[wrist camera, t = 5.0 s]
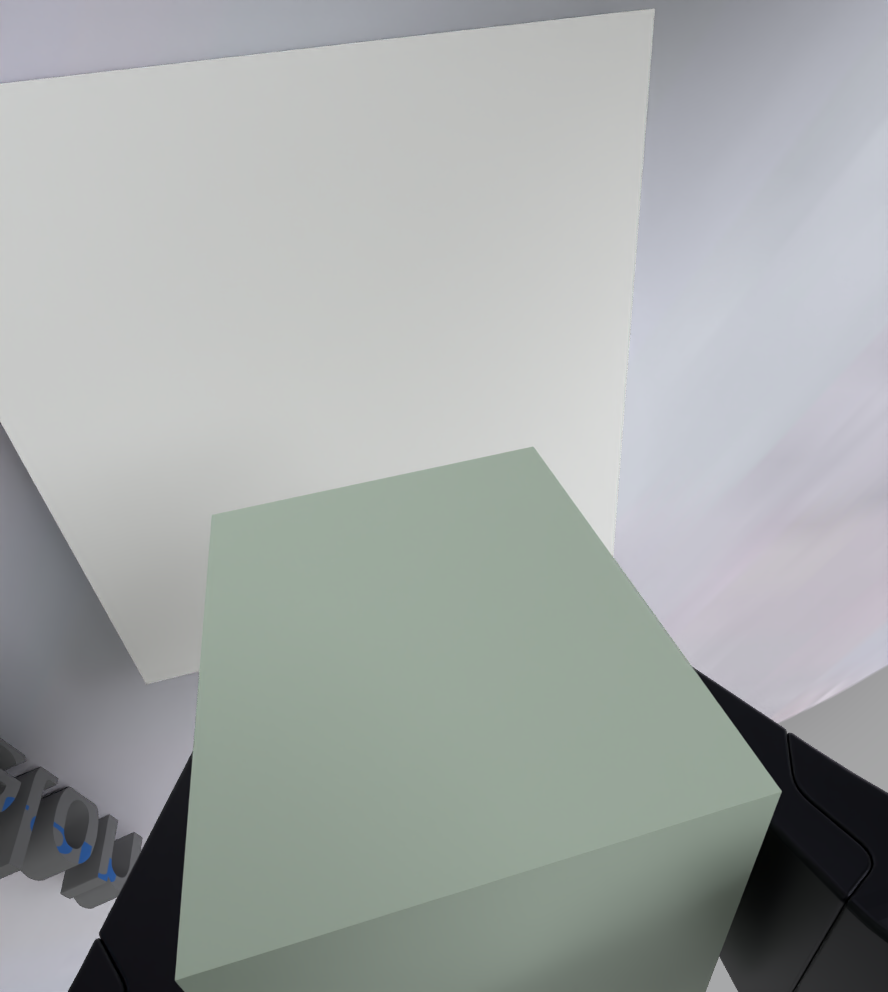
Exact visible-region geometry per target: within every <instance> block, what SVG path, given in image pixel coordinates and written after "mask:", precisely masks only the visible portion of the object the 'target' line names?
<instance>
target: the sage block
mask: <svg viewBox="0 0 888 992" xmlns="http://www.w3.org/2000/svg"><path fill="white" fill-rule="evenodd" d="M781 792H782V791H781V790H780V788H779V787H778V785H777V784H776V783H775V781H774V780H773V779H772V777H771V776H770V774H769V773H768V772H767V770H766V769H765V767H764V766H763V765H762V763H761V762H760V760H759V759H758V758H757V756H756V755H755V754H754V752H753V751H752V749H751V748H750V747H749V745H748V744H747V742H746V741H745V740H744V738H743V737H742V735H741V734H740V733H739V731H738V730H737V729H736V727H735V726H734V724H733V723H732V722H731V720H730V719H729V717H728V716H727V715H726V713H725V712H724V710H723V709H722V708H721V706H720V705H719V704H718V702H717V701H716V699H715V698H714V697H713V695H712V694H711V692H710V691H709V690H708V688H707V687H706V685H705V684H704V683H703V681H702V680H701V679H700V677H699V676H698V674H697V673H696V672H695V670H694V669H693V667H692V666H691V665H690V663H689V662H688V660H687V659H686V658H685V656H684V655H683V654H682V652H681V651H680V649H679V648H678V647H677V645H676V644H675V642H674V641H673V640H672V638H671V637H670V635H669V634H668V633H667V631H666V630H665V629H664V627H663V626H662V624H661V623H660V622H659V620H658V619H657V617H656V616H655V615H654V613H653V612H652V610H651V609H650V608H649V606H648V605H647V604H646V602H645V601H644V599H643V598H642V597H641V595H640V594H639V592H638V591H637V590H636V588H635V587H634V585H633V584H632V583H631V581H630V580H629V579H628V577H627V576H626V574H625V573H624V572H623V570H622V569H621V567H620V566H619V565H618V563H617V562H616V560H615V559H614V558H613V556H612V555H611V554H610V552H609V551H608V549H607V548H606V547H605V545H604V544H603V542H602V541H601V540H600V538H599V537H598V535H597V534H596V533H595V531H594V530H593V529H592V527H591V526H590V524H589V523H588V522H587V520H586V519H585V517H584V516H583V515H582V513H581V512H580V510H579V509H578V508H577V506H576V505H575V504H574V502H573V501H572V499H571V498H570V497H569V495H568V494H567V492H566V491H565V490H564V488H563V487H562V485H561V484H560V483H559V481H558V480H557V479H556V477H555V476H554V474H553V473H552V472H551V470H550V469H549V467H548V466H547V465H546V463H545V462H544V460H543V459H542V458H541V456H540V455H539V454H538V452H537V451H536V449H535V448H534V447H528V448H524V449H519V450H514V451H510V452H505V453H500V454H495V455H491V456H486V457H481V458H477V459H472V460H467V461H463V462H458V463H453V464H449V465H444V466H439V467H434V468H430V469H425V470H420V471H416V472H411V473H406V474H402V475H397V476H392V477H387V478H383V479H378V480H373V481H369V482H364V483H359V484H355V485H350V486H345V487H340V488H336V489H331V490H326V491H322V492H317V493H312V494H308V495H303V496H298V497H294V498H289V499H284V500H279V501H275V502H270V503H265V504H261V505H256V506H251V507H247V508H242V509H237V510H232V511H228V512H223V513H218V514H214V515H212V518H211V530H210V543H209V556H208V568H207V581H206V593H205V606H204V619H203V631H202V644H201V657H200V669H199V682H198V695H197V707H196V720H195V732H194V745H193V758H192V770H191V783H190V796H189V808H188V821H187V834H186V846H185V859H184V871H183V884H182V897H181V909H180V922H179V935H178V947H177V960H176V973H175V981H176V983H177V984H178V985H179V986H180V987H181V988H182V989H183V991H184V992H706V989H707V987H708V984H709V981H710V979H711V976H712V973H713V971H714V968H715V966H716V963H717V960H718V958H719V955H720V953H721V950H722V947H723V945H724V942H725V939H726V937H727V934H728V932H729V929H730V926H731V924H732V921H733V918H734V916H735V913H736V910H737V908H738V905H739V903H740V900H741V897H742V895H743V892H744V889H745V887H746V884H747V882H748V879H749V876H750V874H751V871H752V868H753V866H754V863H755V861H756V858H757V855H758V853H759V850H760V847H761V845H762V842H763V840H764V837H765V834H766V832H767V829H768V826H769V824H770V821H771V819H772V816H773V813H774V811H775V808H776V805H777V803H778V800H779V798H780V795H781Z"/></svg>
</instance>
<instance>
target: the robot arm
mask: <svg viewBox="0 0 888 992" xmlns="http://www.w3.org/2000/svg"><path fill="white" fill-rule="evenodd" d="M693 669H694V670H695V672H696V673H697V674H698V676H699V677H700V679H701V680H702V681H703V683H704V684H705V685H706V687H707V688H708V690H709V691H710V692H711V694H712V695H713V697H714V698H715V699H716V701H717V702H718V704H719V705H720V706H721V708H722V709H723V710H724V712H725V713H726V715H727V716H728V717H729V719H730V720H731V722H732V723H733V724H734V726H735V727H736V729H737V730H738V731H739V733H740V734H741V735H742V737H743V738H744V740H745V741H746V742H747V744H748V745H749V747H750V748H751V749H752V751H753V752H754V754H755V755H756V756H757V758H758V759H759V760H760V762H761V763H762V765H763V766H764V767H765V769H766V770H767V772H768V773H769V774H770V776H771V777H772V779H773V780H774V781H775V783H776V784H777V785H778V787H779V788H780V790H781V791H782V792H781V795H780V798H779V800H778V803H777V805H776V808H775V811H774V813H773V816H772V819H771V821H770V824H769V826H768V829H767V832H766V834H765V837H764V840H763V842H762V845H761V847H760V850H759V853H758V855H757V858H756V861H755V863H754V866H753V868H752V871H751V874H750V876H749V879H748V882H747V884H746V887H745V889H744V892H743V895H742V897H741V900H740V903H739V905H738V908H737V910H736V913H735V916H734V918H733V921H732V924H731V926H730V929H729V932H728V934H727V937H726V939H725V942H724V945H723V947H722V950H721V953H720V955H719V957H720V958H721V960H722V962H723V964H724V966H725V968H726V970H727V972H728V973H729V975H730V977H731V979H732V981H733V983H734V985H735V987H736V988H737V990H738V992H888V793H887V792H885V791H883V790H882V789H880V788H879V787H877V786H875V785H873V784H871V783H870V782H868V781H866V780H865V779H863V778H861V777H860V776H858V775H856V774H855V773H853V772H851V771H850V770H848V769H846V768H845V767H843V766H842V765H840V764H838V763H837V762H835V761H834V760H832V759H830V758H829V757H827V756H826V755H824V754H823V753H821V752H820V751H818V750H817V749H815V748H814V747H812V746H811V745H809V744H808V743H806V742H804V741H803V740H802V739H800V738H799V737H797V736H796V735H794V734H793V733H788V734H787V731H786V729H785V728H783V727H782V726H780V725H779V724H777V723H776V722H774V721H773V720H771V719H770V718H768V717H767V716H765V715H764V714H762V713H761V712H759V711H758V710H756V709H755V708H753V707H752V706H750V705H749V704H747V703H746V702H744V701H743V700H741V699H740V698H738V697H737V696H735V695H734V694H732V693H731V692H729V691H728V690H726V689H725V688H723V687H722V686H720V685H719V684H717V683H716V682H714V681H713V680H711V679H710V678H708V677H707V676H705V675H704V674H702V673H701V672H699V671H698V670H696V669H695V668H693ZM192 758H193V752H192V754H191V756H190V757H189V759H188V761H187V763H186V765H185V767H184V769H183V771H182V773H181V775H180V777H179V779H178V781H177V783H176V785H175V787H174V789H173V790H172V792H171V794H170V796H169V798H168V800H167V802H166V804H165V806H164V808H163V810H162V812H161V814H160V816H159V818H158V820H157V821H156V823H155V825H154V827H153V829H152V831H151V833H150V835H149V837H148V839H147V841H146V843H145V845H144V847H143V849H142V851H141V852H140V854H139V856H138V858H137V860H136V862H135V864H134V866H133V868H132V870H131V872H130V874H129V876H128V878H127V880H126V882H125V883H124V885H123V887H122V889H121V891H120V893H119V895H118V897H117V899H116V901H115V903H114V905H113V907H112V909H111V911H110V913H109V914H108V916H107V918H106V920H105V922H104V924H103V926H102V928H101V930H100V932H99V936H100V938H101V939H100V938H98V939H96V940H95V941H94V943H93V945H92V947H91V949H90V951H89V953H88V955H87V957H86V958H85V960H84V962H83V964H82V966H81V968H80V970H79V972H78V974H77V976H76V978H75V979H74V981H73V983H72V985H71V987H70V989H69V990H68V992H184V991H183V989H182V988H181V987H180V986H179V985H178V984H177V983H176V981H175V973H176V960H177V947H178V935H179V922H180V909H181V897H182V884H183V871H184V859H185V846H186V834H187V821H188V808H189V796H190V783H191V770H192Z"/></svg>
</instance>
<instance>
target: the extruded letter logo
mask: <svg viewBox="0 0 888 992" xmlns="http://www.w3.org/2000/svg"><path fill="white" fill-rule="evenodd" d="M25 761H26V759H25V756H24V754H22V753H21V752H19V751H18V750H17V749H15V748H14V747H12V746H11V745H9V744H8V743H6V742H5V741H4V740H2V739H1V738H0V879H1V878H4V877H6V876H8V875H10V874H13V873H15V872H17V871H20V870H21V871H22V872H23V873H24V874H25V875H26V876H27V877H29V878H31V879H33V880H38V881H41V880H45V879H47V878H49V877H52V876H54V875H56V874H58V873H61V872H63V871H65V870H66V871H65V875H64V880H63V884H62V889H61V895H63V896H65V897H67V898H69V899H70V898H73V897H74V899H75V900H76V902H77V903H78V904H79V905H80V906H82V907H84V908H88V909H91V908H94V907H96V906H98V905H101V904H103V903H105V902H107V901H110V900H112V899H114V898H116V897H118V895H119V893H120V891H121V889H122V887H123V885H124V883H125V882H126V880H127V878H128V876H129V874H130V872H131V870H132V868H133V866H134V864H135V862H136V860H137V858H138V856H139V854H140V852H141V845H142V837H141V836H140V835H138V834H137V833H135V832H133V833H131V834H129V835H127V836H124V837H122V838H120V839H118V840H115V834H116V829H117V823H118V820H117V819H115V818H114V817H112V816H111V815H110V814H109V815H107V816H104V817H102V818H100V819H99V818H98V811H97V807H96V805H95V804H94V803H92V802H91V801H89V800H88V799H87V798H85V797H84V796H82V795H81V794H79V793H78V792H77V791H75V790H74V789H72V788H71V787H68V788H66V789H64V790H61V791H59V792H57V793H55V794H52V795H50V796H48V797H46V798H43V799H41V797H42V793H43V790H45V789H47V788H50V787H52V786H54V785H56V784H57V782H58V778H57V777H55V776H54V775H52V774H51V773H49V772H48V771H47V770H45V769H44V768H42V767H40V768H37V769H35V770H33V771H31V772H28V773H26V774H24V775H22V776H19V777H17V778H14V777H13V776H11V775H10V774H8V773H6V772H5V771H4V770H7V769H9V768H11V767H13V766H16V765H18V764H20V763H22V762H25ZM114 840H115V841H114Z"/></svg>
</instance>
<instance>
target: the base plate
mask: <svg viewBox="0 0 888 992" xmlns="http://www.w3.org/2000/svg"><path fill="white" fill-rule="evenodd" d="M654 14H655V9H645V10H635V11H626V12H616V13H607V14H599V15H590V16H581V17H573V18H564V19H555V20H547V21H538V22H529V23H521V24H512V25H503V26H495V27H486V28H477V29H469V30H460V31H451V32H443V33H434V34H425V35H417V36H408V37H399V38H391V39H382V40H373V41H365V42H356V43H347V44H339V45H330V46H321V47H313V48H304V49H295V50H287V51H278V52H269V53H261V54H252V55H243V56H235V57H226V58H217V59H209V60H200V61H191V62H183V63H174V64H165V65H157V66H148V67H139V68H131V69H122V70H113V71H105V72H96V73H87V74H79V75H70V76H62V77H53V78H44V79H36V80H27V81H18V82H10V83H1V84H0V422H1V424H2V426H3V428H4V429H5V431H6V433H7V435H8V437H9V438H10V440H11V442H12V444H13V446H14V447H15V449H16V451H17V453H18V455H19V456H20V458H21V460H22V462H23V464H24V465H25V467H26V469H27V471H28V473H29V474H30V476H31V478H32V480H33V482H34V483H35V485H36V487H37V489H38V491H39V492H40V494H41V496H42V498H43V500H44V501H45V503H46V505H47V507H48V509H49V510H50V512H51V514H52V516H53V518H54V519H55V521H56V523H57V525H58V527H59V528H60V530H61V532H62V534H63V536H64V537H65V539H66V541H67V543H68V545H69V546H70V548H71V550H72V552H73V554H74V555H75V557H76V559H77V561H78V563H79V564H80V566H81V568H82V570H83V572H84V573H85V575H86V577H87V579H88V581H89V582H90V584H91V586H92V588H93V590H94V591H95V593H96V595H97V597H98V599H99V600H100V602H101V604H102V606H103V608H104V609H105V611H106V613H107V615H108V617H109V618H110V620H111V622H112V624H113V626H114V627H115V629H116V631H117V633H118V635H119V636H120V638H121V640H122V642H123V644H124V645H125V647H126V649H127V651H128V653H129V654H130V656H131V658H132V660H133V661H134V663H135V665H136V667H137V669H138V670H139V672H140V674H141V676H142V678H143V679H144V681H145V683H146V685H147V684H151V683H155V682H159V681H163V680H167V679H171V678H175V677H179V676H183V675H187V674H191V673H195V672H199V669H200V657H201V644H202V631H203V619H204V606H205V593H206V581H207V568H208V556H209V543H210V530H211V518H212V515H214V514H218V513H223V512H228V511H232V510H237V509H242V508H247V507H251V506H256V505H261V504H265V503H270V502H275V501H279V500H284V499H289V498H294V497H298V496H303V495H308V494H312V493H317V492H322V491H326V490H331V489H336V488H340V487H345V486H350V485H355V484H359V483H364V482H369V481H373V480H378V479H383V478H387V477H392V476H397V475H402V474H406V473H411V472H416V471H420V470H425V469H430V468H434V467H439V466H444V465H449V464H453V463H458V462H463V461H467V460H472V459H477V458H481V457H486V456H491V455H495V454H500V453H505V452H510V451H514V450H519V449H524V448H528V447H534V448H535V449H536V451H537V452H538V454H539V455H540V456H541V458H542V459H543V460H544V462H545V463H546V465H547V466H548V467H549V469H550V470H551V472H552V473H553V474H554V476H555V477H556V479H557V480H558V481H559V483H560V484H561V485H562V487H563V488H564V490H565V491H566V492H567V494H568V495H569V497H570V498H571V499H572V501H573V502H574V504H575V505H576V506H577V508H578V509H579V510H580V512H581V513H582V515H583V516H584V517H585V519H586V520H587V522H588V523H589V524H590V526H591V527H592V529H593V530H594V531H595V533H596V534H597V535H598V537H599V538H600V540H601V541H602V542H603V544H604V545H605V547H606V548H607V549H608V551H609V552H610V554H611V555H612V556H613V553H614V540H615V527H616V513H617V500H618V487H619V474H620V461H621V448H622V435H623V422H624V408H625V395H626V382H627V369H628V356H629V343H630V330H631V316H632V303H633V290H634V277H635V264H636V251H637V238H638V224H639V211H640V198H641V185H642V172H643V159H644V146H645V132H646V119H647V106H648V93H649V80H650V67H651V54H652V40H653V27H654Z"/></svg>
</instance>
